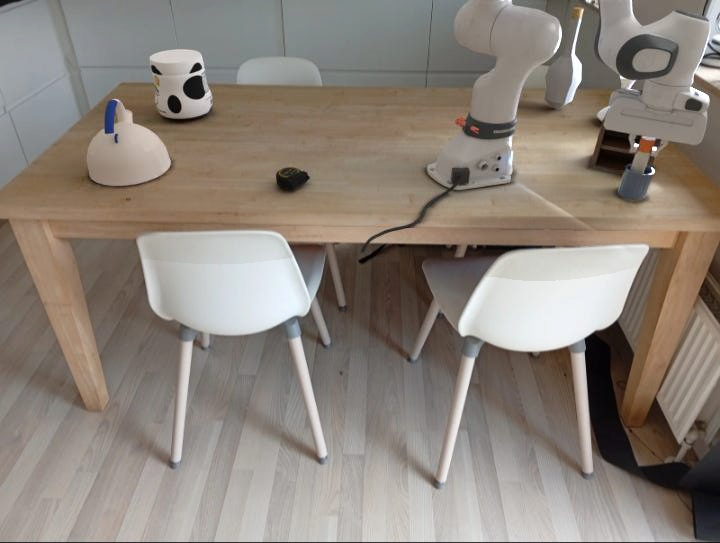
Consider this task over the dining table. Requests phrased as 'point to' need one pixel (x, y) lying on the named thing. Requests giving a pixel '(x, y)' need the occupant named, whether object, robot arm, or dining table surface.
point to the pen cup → (635, 183)
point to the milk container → (180, 84)
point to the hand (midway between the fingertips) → (643, 154)
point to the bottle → (565, 68)
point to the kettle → (125, 151)
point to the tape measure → (291, 178)
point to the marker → (642, 154)
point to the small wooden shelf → (615, 150)
